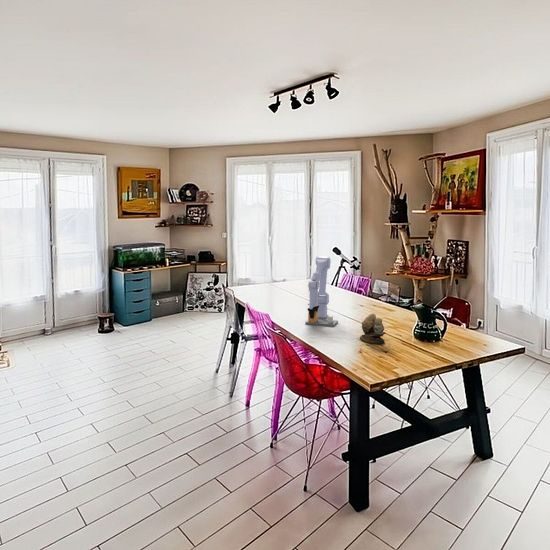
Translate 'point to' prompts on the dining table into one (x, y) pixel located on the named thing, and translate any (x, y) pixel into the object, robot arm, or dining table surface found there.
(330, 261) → the robot arm
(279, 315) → the dining table surface
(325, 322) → the panel
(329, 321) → the untagged breaker
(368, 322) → the stacked stone sculpture
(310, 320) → the orange cube
